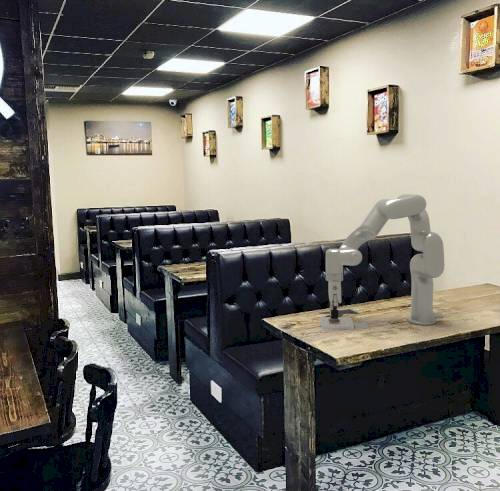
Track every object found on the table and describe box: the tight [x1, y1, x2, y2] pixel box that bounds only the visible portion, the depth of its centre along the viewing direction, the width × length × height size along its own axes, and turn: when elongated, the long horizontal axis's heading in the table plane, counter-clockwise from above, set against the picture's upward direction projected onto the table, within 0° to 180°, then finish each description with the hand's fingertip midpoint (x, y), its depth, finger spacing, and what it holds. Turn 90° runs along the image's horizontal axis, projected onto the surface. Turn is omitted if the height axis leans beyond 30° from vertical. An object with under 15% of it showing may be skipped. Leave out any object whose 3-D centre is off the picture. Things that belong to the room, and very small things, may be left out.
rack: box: [319, 316, 370, 330], centre depth 226 cm, size 21×12×4 cm, turn 85°
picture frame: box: [313, 308, 364, 317], centre depth 246 cm, size 16×3×21 cm
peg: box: [329, 302, 337, 320], centre depth 225 cm, size 4×4×7 cm
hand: (334, 316), depth 226 cm, fingers closed on peg, 3 cm apart
